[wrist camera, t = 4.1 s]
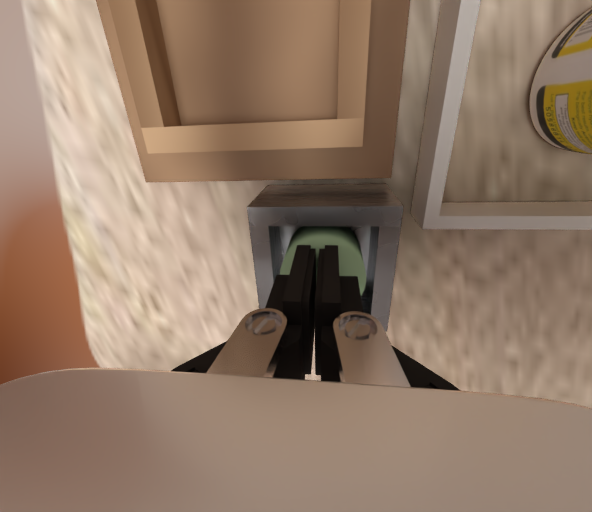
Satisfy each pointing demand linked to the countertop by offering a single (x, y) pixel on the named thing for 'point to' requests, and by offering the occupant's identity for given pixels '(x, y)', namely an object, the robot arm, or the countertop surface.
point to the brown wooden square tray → (259, 86)
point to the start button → (329, 235)
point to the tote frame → (440, 136)
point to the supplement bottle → (566, 89)
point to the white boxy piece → (329, 212)
